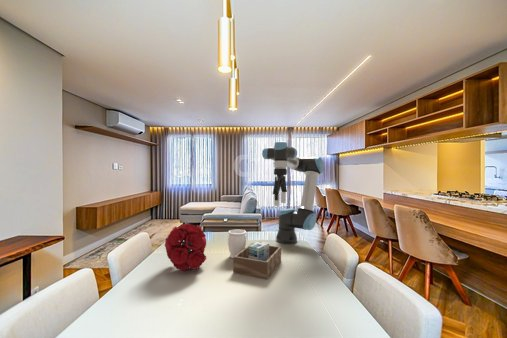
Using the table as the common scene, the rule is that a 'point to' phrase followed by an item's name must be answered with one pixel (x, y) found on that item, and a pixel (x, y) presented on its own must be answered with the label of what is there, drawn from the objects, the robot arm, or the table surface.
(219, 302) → the table surface
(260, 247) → the light bulb box
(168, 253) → the bouquet
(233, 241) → the jar
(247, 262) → the walnut crate
